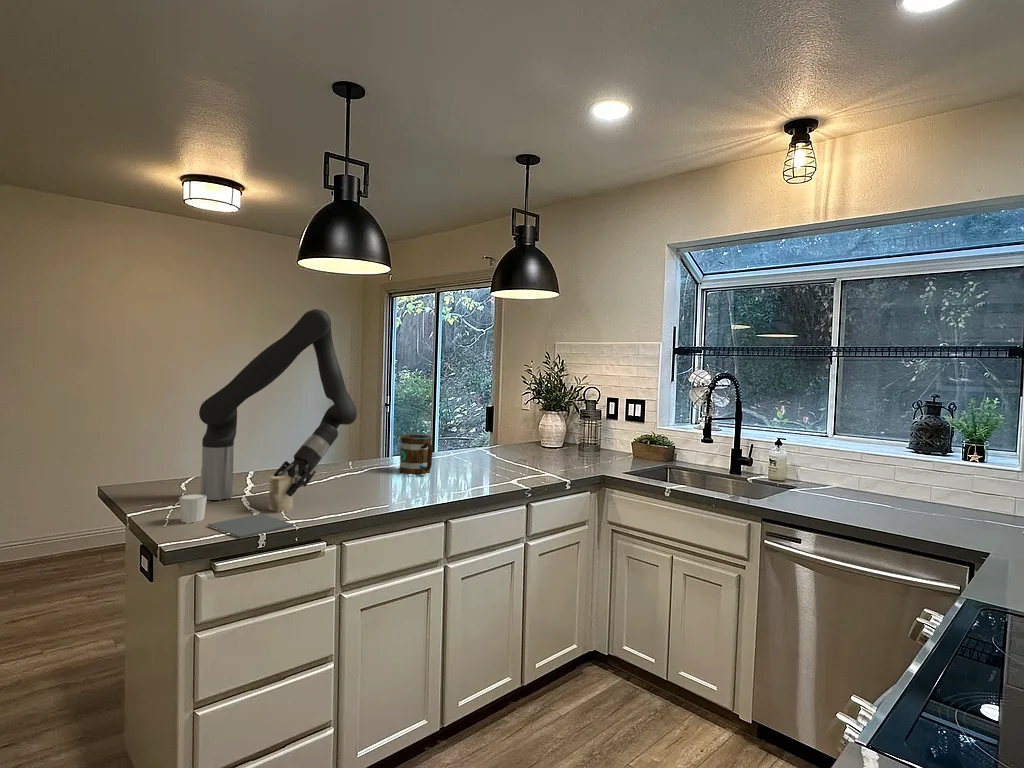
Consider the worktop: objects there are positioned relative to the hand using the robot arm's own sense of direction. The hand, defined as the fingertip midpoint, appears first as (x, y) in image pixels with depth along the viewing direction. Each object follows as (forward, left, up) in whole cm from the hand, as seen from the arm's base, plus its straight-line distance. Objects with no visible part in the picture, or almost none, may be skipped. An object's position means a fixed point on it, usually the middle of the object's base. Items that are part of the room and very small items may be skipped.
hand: (279, 492), depth 186 cm
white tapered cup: (-6, -23, -6) cm, 25 cm away
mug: (-11, +73, -6) cm, 74 cm away
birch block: (0, +1, -5) cm, 5 cm away
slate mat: (+10, -15, -5) cm, 19 cm away
